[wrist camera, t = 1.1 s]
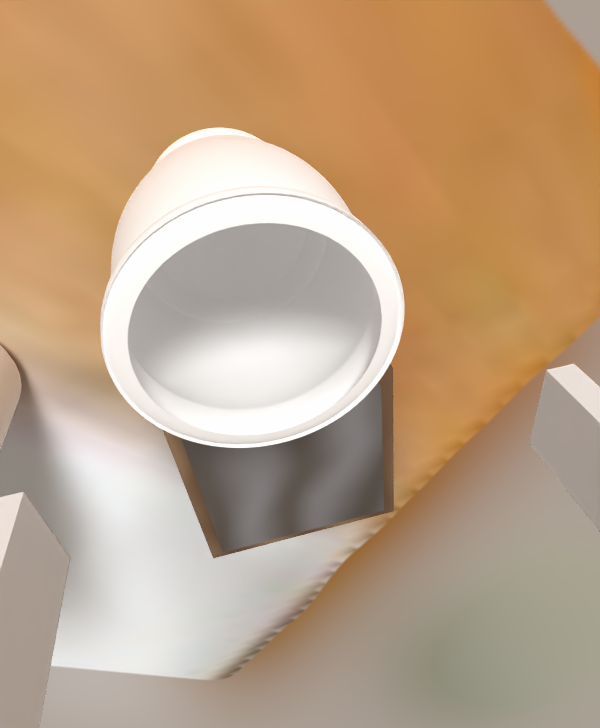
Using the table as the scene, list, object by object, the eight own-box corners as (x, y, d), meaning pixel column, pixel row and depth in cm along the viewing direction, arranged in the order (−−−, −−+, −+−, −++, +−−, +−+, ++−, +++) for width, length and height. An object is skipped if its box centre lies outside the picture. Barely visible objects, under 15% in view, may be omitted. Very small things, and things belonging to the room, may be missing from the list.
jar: (304, 92, 27) (414, 167, 15) (316, 269, 33) (400, 421, 21) (100, 118, 26) (44, 223, 14) (152, 297, 32) (145, 476, 20)
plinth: (210, 523, 46) (213, 562, 42) (160, 388, 36) (159, 425, 33) (379, 479, 47) (395, 514, 44) (375, 339, 37) (394, 371, 34)
